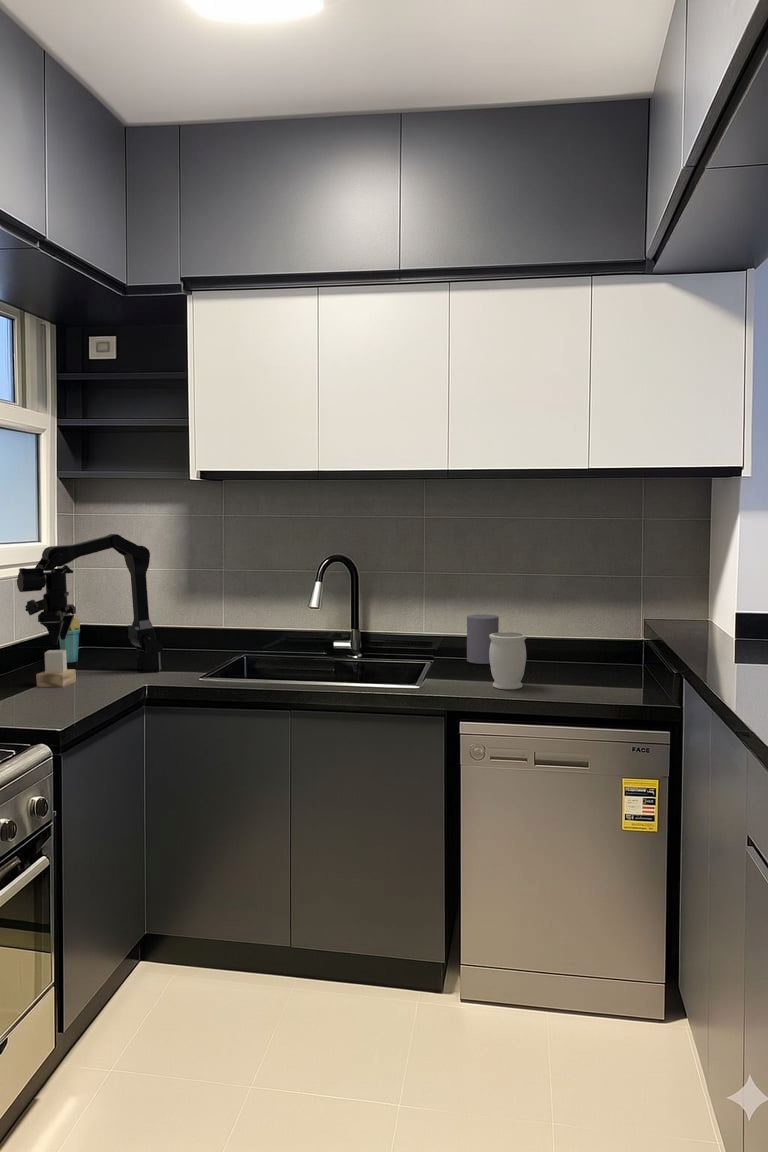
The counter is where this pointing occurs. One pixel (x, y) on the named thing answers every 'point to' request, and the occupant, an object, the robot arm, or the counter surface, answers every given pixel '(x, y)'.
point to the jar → (507, 659)
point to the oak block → (56, 678)
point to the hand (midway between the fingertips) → (58, 642)
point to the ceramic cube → (55, 661)
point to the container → (480, 637)
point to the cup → (71, 641)
